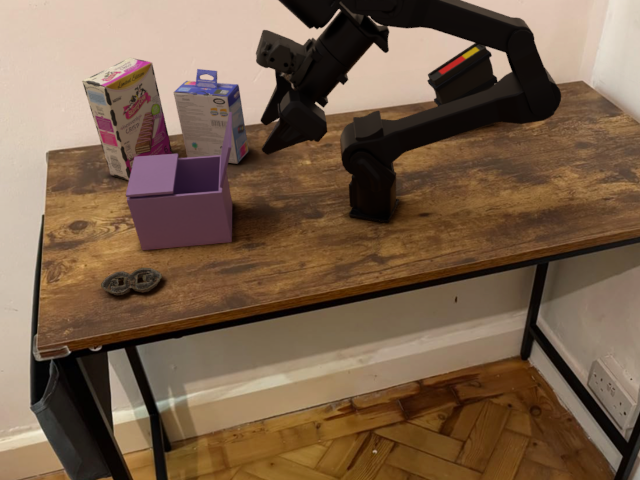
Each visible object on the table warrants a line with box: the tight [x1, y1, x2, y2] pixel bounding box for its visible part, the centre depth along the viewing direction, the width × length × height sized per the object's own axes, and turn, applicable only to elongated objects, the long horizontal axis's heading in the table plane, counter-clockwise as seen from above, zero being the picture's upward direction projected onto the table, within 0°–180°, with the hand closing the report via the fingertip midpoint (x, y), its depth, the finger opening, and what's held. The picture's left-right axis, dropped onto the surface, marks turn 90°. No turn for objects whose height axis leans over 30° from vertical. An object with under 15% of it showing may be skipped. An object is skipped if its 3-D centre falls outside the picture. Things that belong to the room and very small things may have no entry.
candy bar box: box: [81, 57, 173, 182], centre depth 110 cm, size 11×5×16 cm, turn 155°
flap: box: [220, 112, 232, 188], centre depth 95 cm, size 6×11×1 cm
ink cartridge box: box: [173, 68, 250, 165], centre depth 113 cm, size 10×6×14 cm, turn 78°
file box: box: [125, 153, 233, 251], centre depth 99 cm, size 13×11×9 cm
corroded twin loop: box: [100, 267, 163, 296], centre depth 91 cm, size 5×8×1 cm, turn 105°
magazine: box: [426, 42, 499, 127], centre depth 122 cm, size 4×13×15 cm, turn 111°
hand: (263, 137), depth 94 cm, fingers open, 9 cm apart
